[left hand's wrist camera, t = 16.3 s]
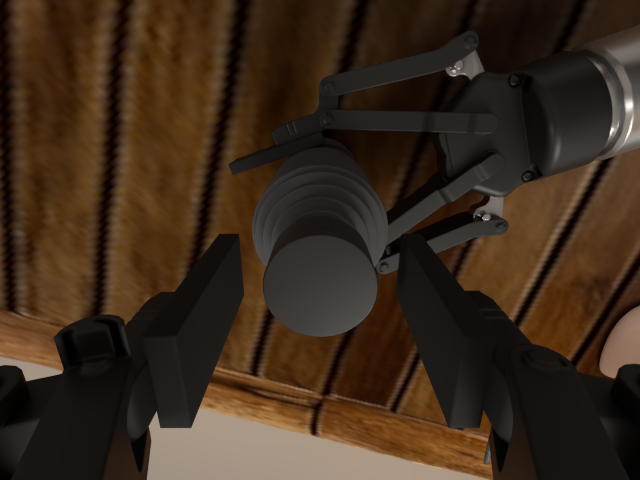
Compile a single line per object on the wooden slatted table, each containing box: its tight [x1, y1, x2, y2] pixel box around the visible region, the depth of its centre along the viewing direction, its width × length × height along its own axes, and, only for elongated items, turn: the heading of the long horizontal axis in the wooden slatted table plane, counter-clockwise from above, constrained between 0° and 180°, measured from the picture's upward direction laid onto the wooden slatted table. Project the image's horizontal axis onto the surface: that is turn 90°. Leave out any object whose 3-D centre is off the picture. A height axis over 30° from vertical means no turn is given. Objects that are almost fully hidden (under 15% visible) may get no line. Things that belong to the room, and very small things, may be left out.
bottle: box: [252, 138, 388, 267], centre depth 22 cm, size 7×7×20 cm
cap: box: [263, 216, 378, 337], centre depth 13 cm, size 4×4×2 cm
